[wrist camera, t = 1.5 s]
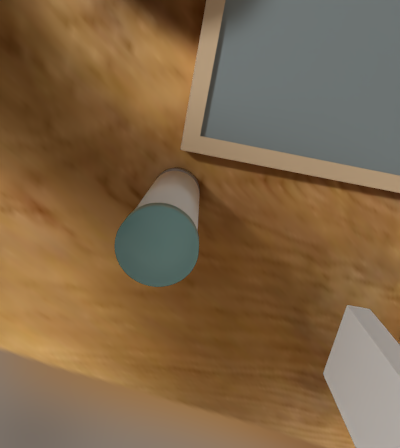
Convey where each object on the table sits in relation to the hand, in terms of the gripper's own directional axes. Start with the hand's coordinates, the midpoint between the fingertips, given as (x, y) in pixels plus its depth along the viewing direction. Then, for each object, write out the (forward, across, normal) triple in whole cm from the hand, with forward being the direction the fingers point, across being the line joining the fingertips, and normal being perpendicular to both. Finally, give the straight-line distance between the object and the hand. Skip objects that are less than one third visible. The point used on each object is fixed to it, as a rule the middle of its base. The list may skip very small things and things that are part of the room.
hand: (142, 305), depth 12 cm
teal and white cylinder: (+17, 0, 0) cm, 17 cm away
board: (+17, +11, +12) cm, 24 cm away
